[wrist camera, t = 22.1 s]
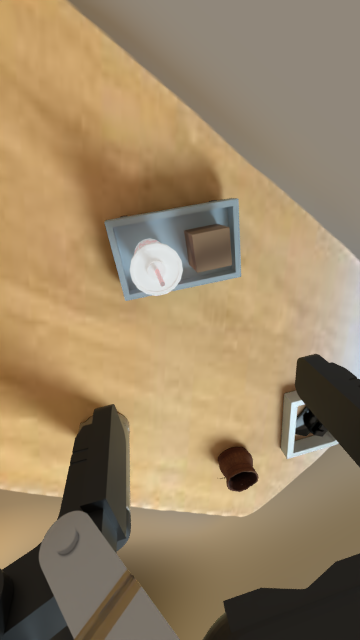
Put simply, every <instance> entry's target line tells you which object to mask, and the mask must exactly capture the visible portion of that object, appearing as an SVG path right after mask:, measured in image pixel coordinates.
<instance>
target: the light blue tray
mask: <svg viewBox="0 0 360 640" xmlns="http://www.w3.org/2000/svg"><path fill="white" fill-rule="evenodd" d="M104 223H105V227H106V230H107V234H108V238H109V241H110V245H111V249H112V253H113V256H114V260H115V264H116V267H117V271H118V275H119V279H120V282H121V286H122V290H123V293H124V297H125V301H128V300H132V299H137V298H142V297H147V296H151V295H149V294H146V293H144V292H142V291H141V290H139V289H138V288H137V287H136V285H135V284H134V283H133V281H132V278H131V274H130V265H131V259H132V257H133V256H134V252H135V248H136V246H137V245H138V243H139V242H141V241H142V240H144V239H149V238H150V239H155V240H157V241H158V242H160V243H162V244H166V245H168V246H169V247H171V248H172V249H173V250H175V251H176V252H177V254H178V256H179V257H180V259H181V261H182V268H183V272H182V276H181V280H180V282H179V283H178V285H177V286H176V287H175V289H173V290H171V291H175V290H180V289H185V288H189V287H194V286H199V285H204V284H208V283H213V282H218V281H223V280H228V279H232V278H237V277H241V259H240V231H239V203H238V199H234V198H230V199H224V200H218V201H217V200H213V201H209V202H207V203H201V204H196V205H190V206H184V207H178V208H173V209H167V210H161V211H156V212H150V213H144V214H138V215H133V216H121V217H120V218H116V219H110V220H106V221H105V222H104ZM213 224H220V225H223V226H227V227H230V241H231V256H232V265H231V266H226V267H222V268H217V269H213V270H208V271H204V272H199V273H197V272H196V271H195V270H194V269H193V268H192V267H191V266H190V265H189V261H188V254H187V248H186V241H185V234H184V230H188V229H193V228H198V227H203V226H208V225H213Z"/></svg>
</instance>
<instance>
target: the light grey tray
mask: <svg viewBox="0 0 360 640" xmlns="http://www.w3.org/2000/svg"><path fill="white" fill-rule="evenodd" d="M304 404H305V403H304V402H303V401H302V400H301V399H300V397H299V396H298V394H297V391H292V392H288V393H285V394H284V404H283V421H282V437H281V450H282V452H283V453H284V455H285V456H286V458H287V459H289V458H292V457H296V456H299V455H302V454H306V453H309V452H313V451H316V450H319V449H323V448H326V447H329V446H333V445H336V444H339V443H338V442H337V440H336V439H335V438H334V437H333V436H332V435H331V434H330V432H329V431H327V432H326V433H325V434H324V435H323V437H320V436H316V435H314V436H311V437H307V438H304V439H300V440H297V441H294V439H295V429H296V418H297V408H298V406H300V405H304Z"/></svg>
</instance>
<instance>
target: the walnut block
mask: <svg viewBox="0 0 360 640" xmlns="http://www.w3.org/2000/svg"><path fill="white" fill-rule="evenodd" d="M184 234H185V241H186V248H187V254H188V261H189V265H190V266H191V267H192V268H193V269H194V270H195V271H196V272H197V273H199V272H204V271H208V270H213V269H217V268H222V267H226V266H231V265H232V256H231V241H230V227H227V226H223V225H220V224H213V225H208V226H203V227H198V228H193V229H188V230H184Z"/></svg>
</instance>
